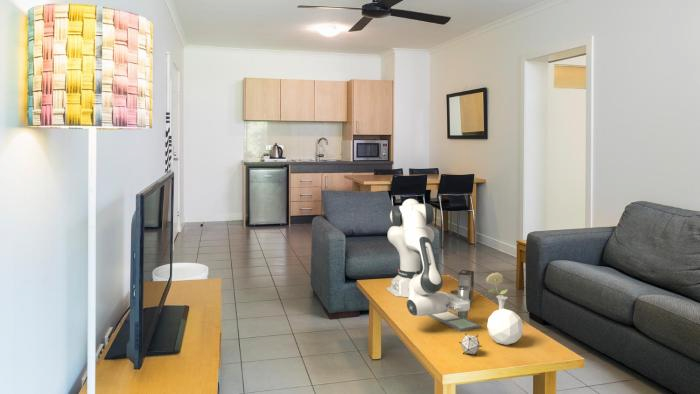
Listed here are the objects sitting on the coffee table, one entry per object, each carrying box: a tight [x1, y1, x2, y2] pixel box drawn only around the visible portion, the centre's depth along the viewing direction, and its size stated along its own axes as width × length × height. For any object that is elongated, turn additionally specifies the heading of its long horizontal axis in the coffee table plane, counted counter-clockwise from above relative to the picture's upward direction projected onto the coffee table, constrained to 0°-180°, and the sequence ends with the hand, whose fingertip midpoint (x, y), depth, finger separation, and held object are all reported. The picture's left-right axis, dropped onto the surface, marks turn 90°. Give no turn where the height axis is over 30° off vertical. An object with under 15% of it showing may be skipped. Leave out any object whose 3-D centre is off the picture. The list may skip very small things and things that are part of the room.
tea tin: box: [456, 286, 469, 319], centre depth 237 cm, size 5×5×14 cm
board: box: [427, 310, 483, 332], centre depth 243 cm, size 24×13×1 cm, turn 27°
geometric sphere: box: [486, 308, 524, 346], centre depth 216 cm, size 14×15×15 cm
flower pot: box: [449, 289, 458, 296], centre depth 262 cm, size 9×9×9 cm
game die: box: [459, 332, 483, 357], centre depth 204 cm, size 9×8×10 cm
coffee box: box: [457, 269, 475, 304], centre depth 275 cm, size 9×6×16 cm
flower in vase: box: [485, 272, 508, 310], centre depth 237 cm, size 13×11×25 cm
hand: (464, 299), depth 237 cm, fingers closed on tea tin, 5 cm apart
